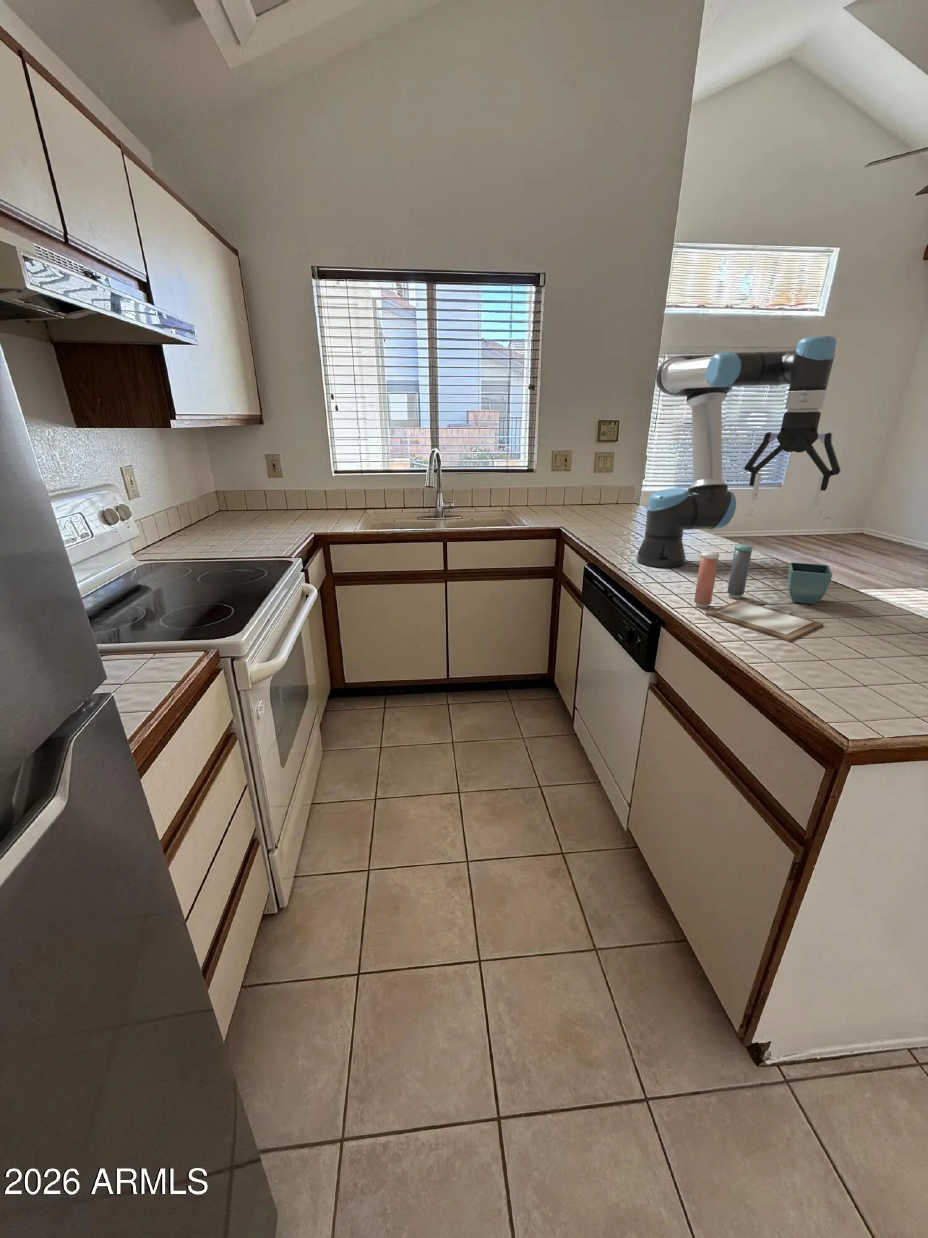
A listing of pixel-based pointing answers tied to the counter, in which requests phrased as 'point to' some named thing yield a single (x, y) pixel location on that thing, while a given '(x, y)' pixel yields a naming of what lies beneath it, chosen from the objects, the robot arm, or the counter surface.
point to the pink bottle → (706, 579)
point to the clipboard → (765, 619)
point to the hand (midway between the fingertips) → (783, 501)
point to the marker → (739, 570)
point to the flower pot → (808, 582)
